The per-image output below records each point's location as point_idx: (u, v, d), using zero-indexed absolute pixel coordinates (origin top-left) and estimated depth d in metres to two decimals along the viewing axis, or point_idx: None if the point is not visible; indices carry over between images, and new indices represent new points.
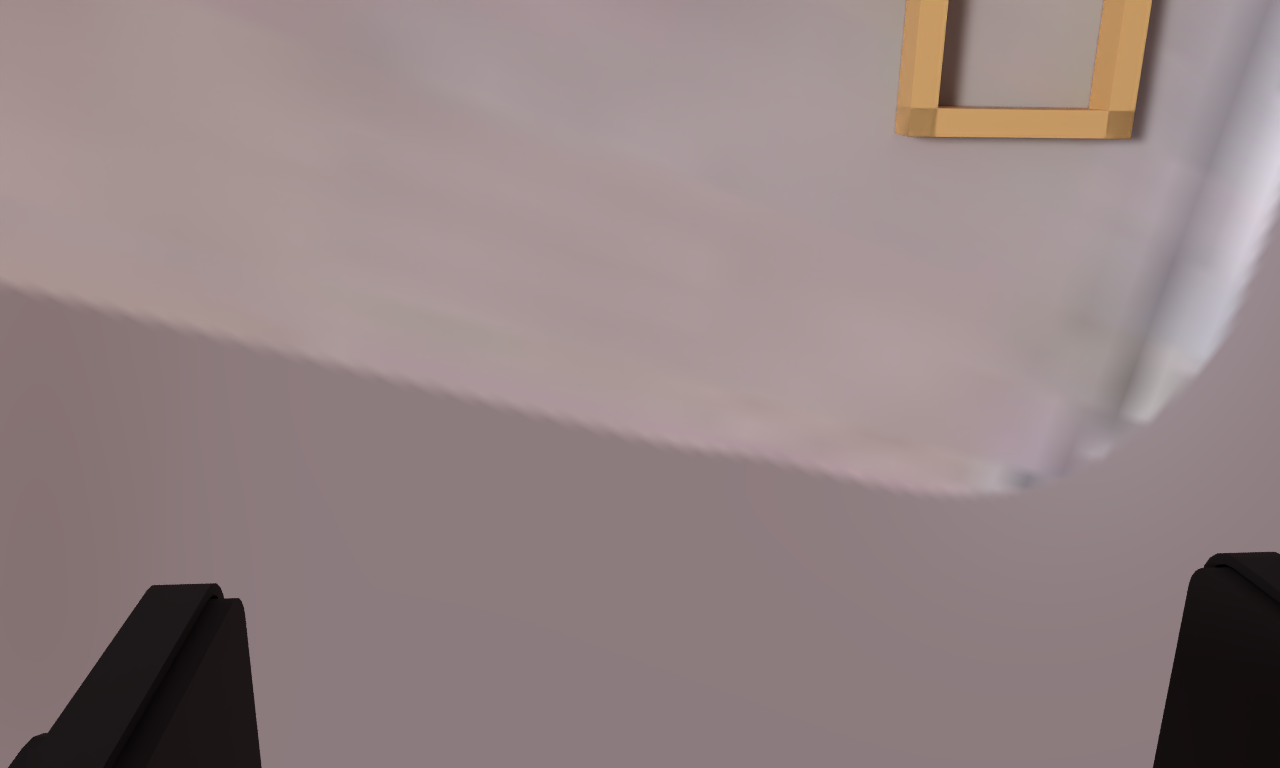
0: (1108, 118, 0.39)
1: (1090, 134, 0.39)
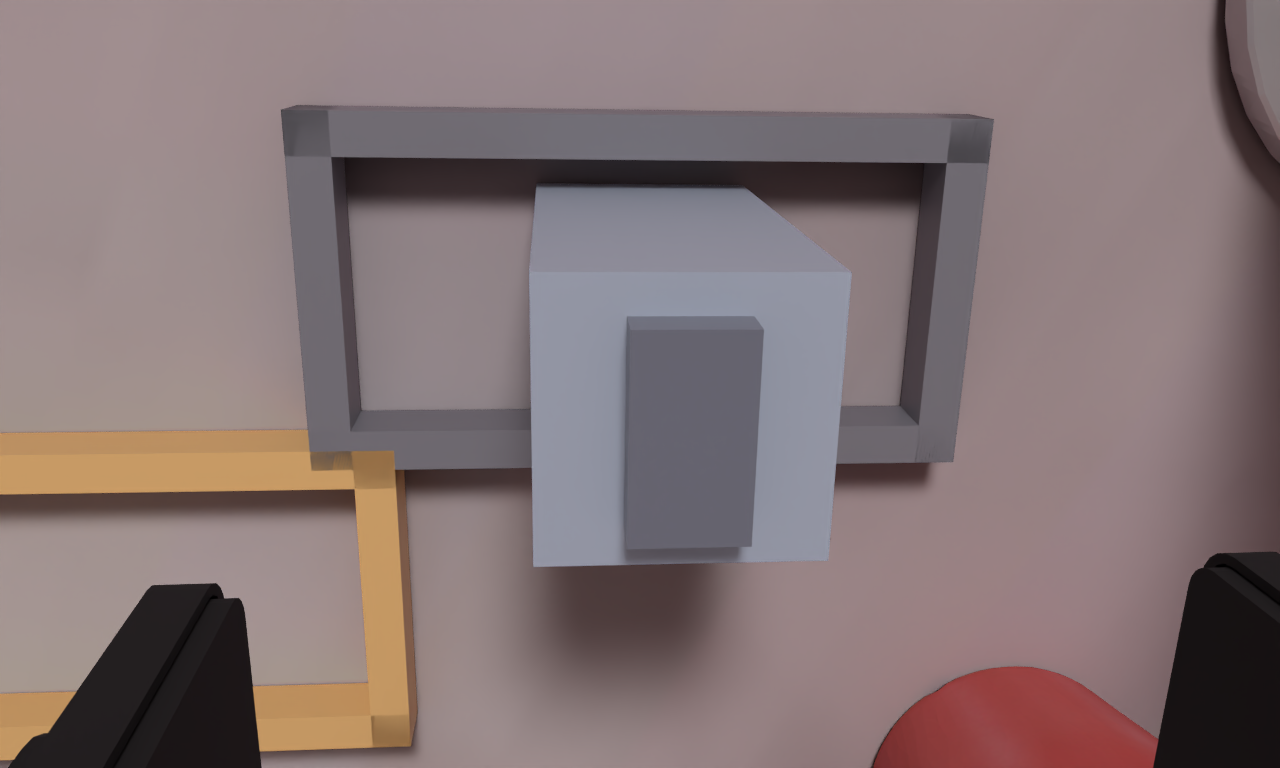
0: None
1: None
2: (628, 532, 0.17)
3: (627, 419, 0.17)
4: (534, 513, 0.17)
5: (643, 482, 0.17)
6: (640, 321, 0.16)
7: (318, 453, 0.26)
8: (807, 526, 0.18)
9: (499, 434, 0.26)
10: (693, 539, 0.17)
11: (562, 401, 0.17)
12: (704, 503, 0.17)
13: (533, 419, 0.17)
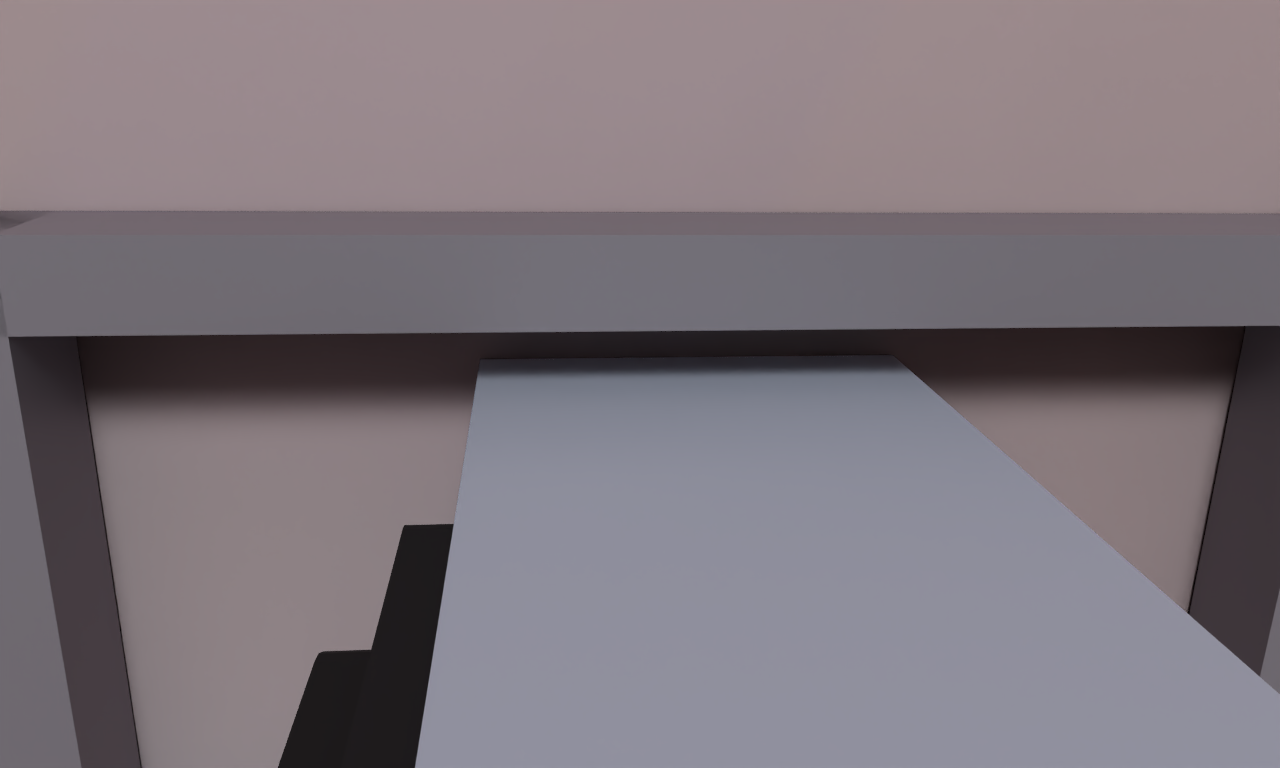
0: None
1: None
2: None
3: None
4: None
5: None
6: None
7: None
8: None
9: None
10: None
11: None
12: None
13: None
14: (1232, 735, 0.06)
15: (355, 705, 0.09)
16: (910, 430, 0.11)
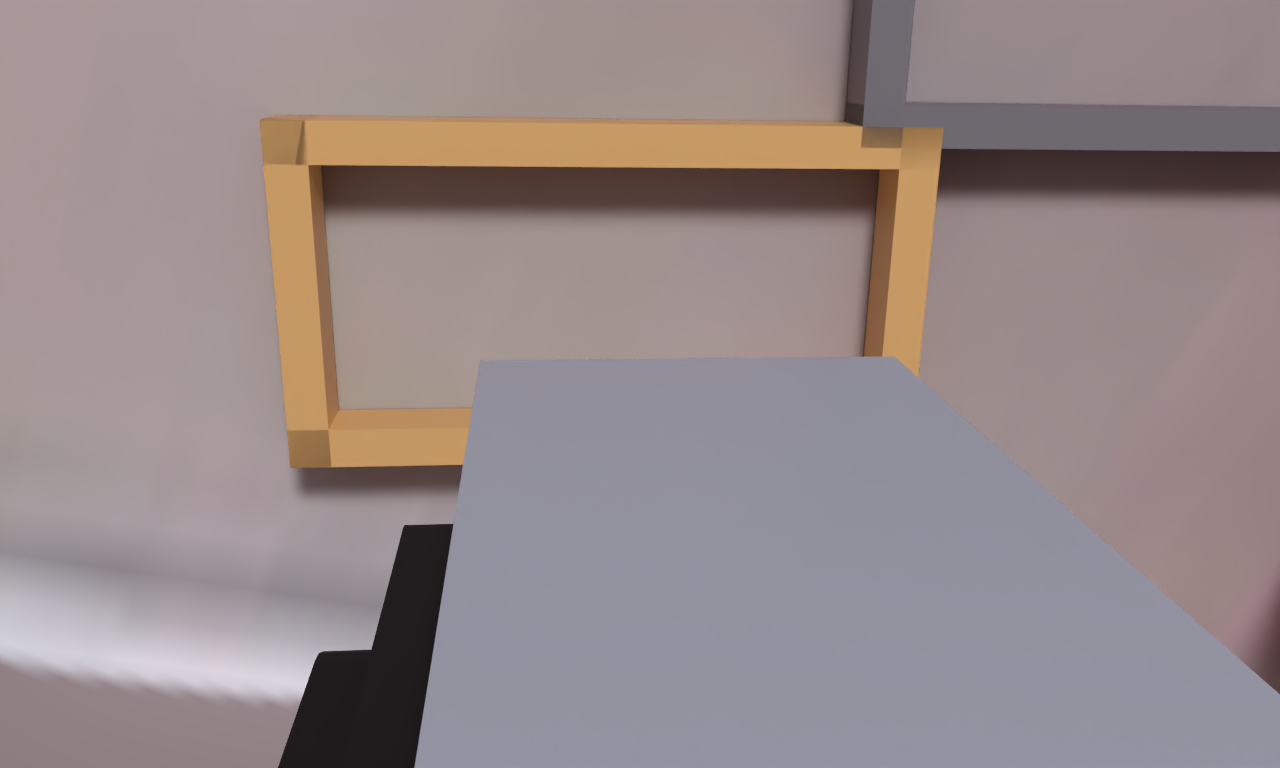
0: (316, 431, 0.27)
1: (290, 408, 0.26)
2: None
3: None
4: None
5: None
6: None
7: (870, 129, 0.26)
8: None
9: (1046, 112, 0.26)
10: None
11: None
12: None
13: None
14: (1239, 742, 0.06)
15: (355, 705, 0.09)
16: (912, 432, 0.10)
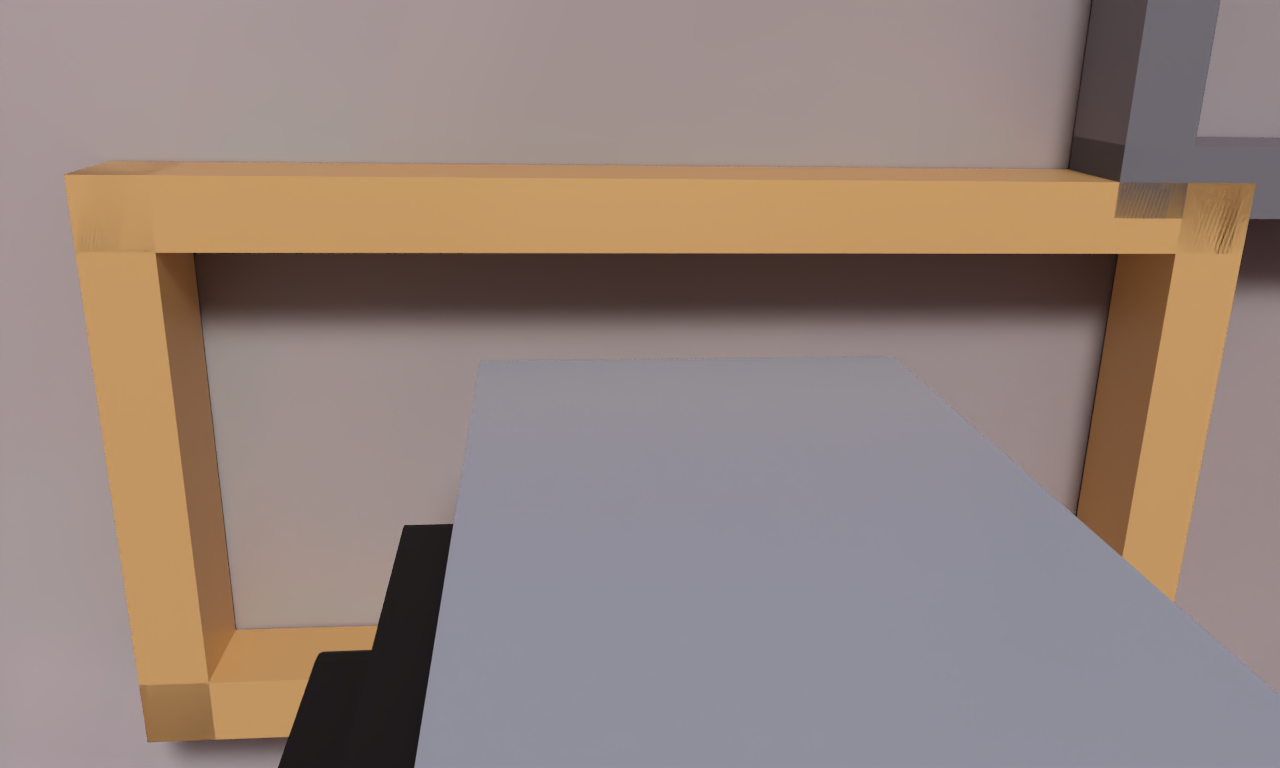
0: (189, 685, 0.16)
1: (143, 651, 0.16)
2: None
3: None
4: None
5: None
6: None
7: (1132, 186, 0.15)
8: None
9: None
10: None
11: None
12: None
13: None
14: (1239, 743, 0.06)
15: (355, 705, 0.09)
16: (912, 433, 0.10)
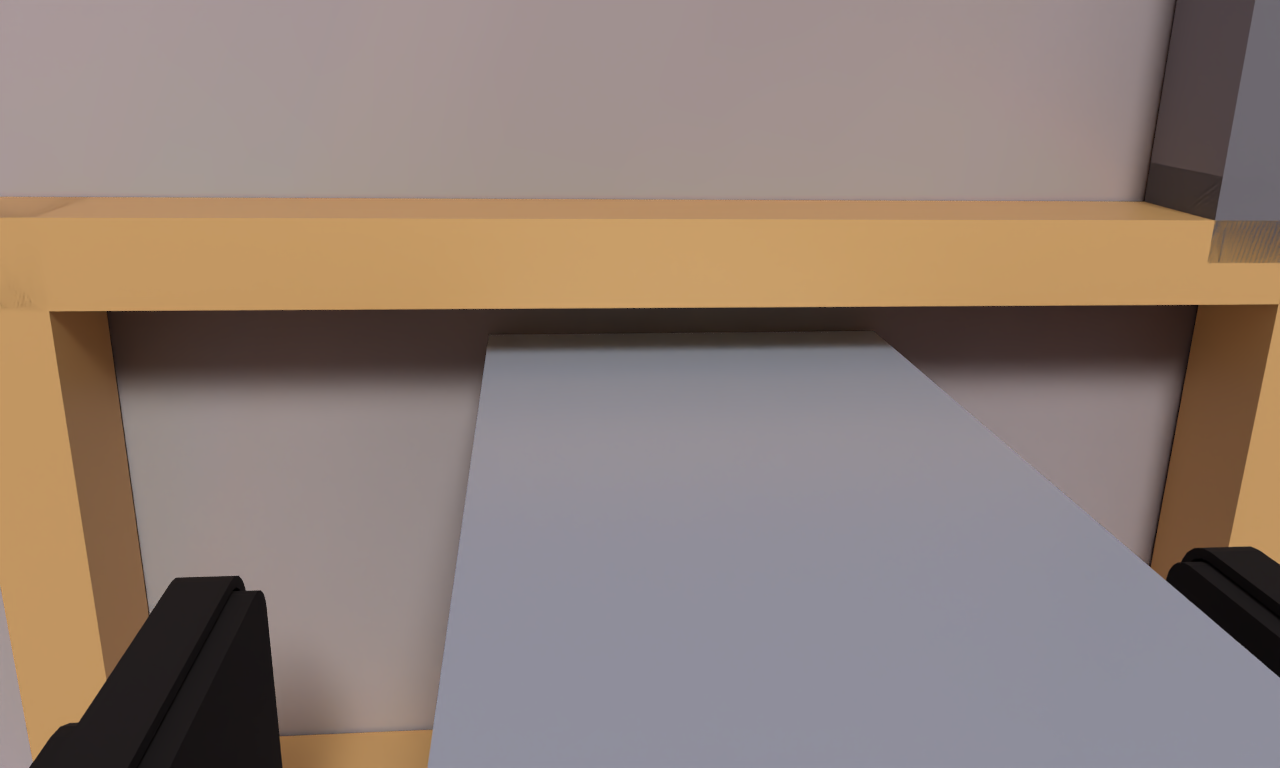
0: None
1: None
2: None
3: None
4: None
5: None
6: None
7: (1230, 225, 0.12)
8: None
9: None
10: None
11: None
12: None
13: None
14: (1147, 635, 0.07)
15: None
16: (885, 395, 0.11)
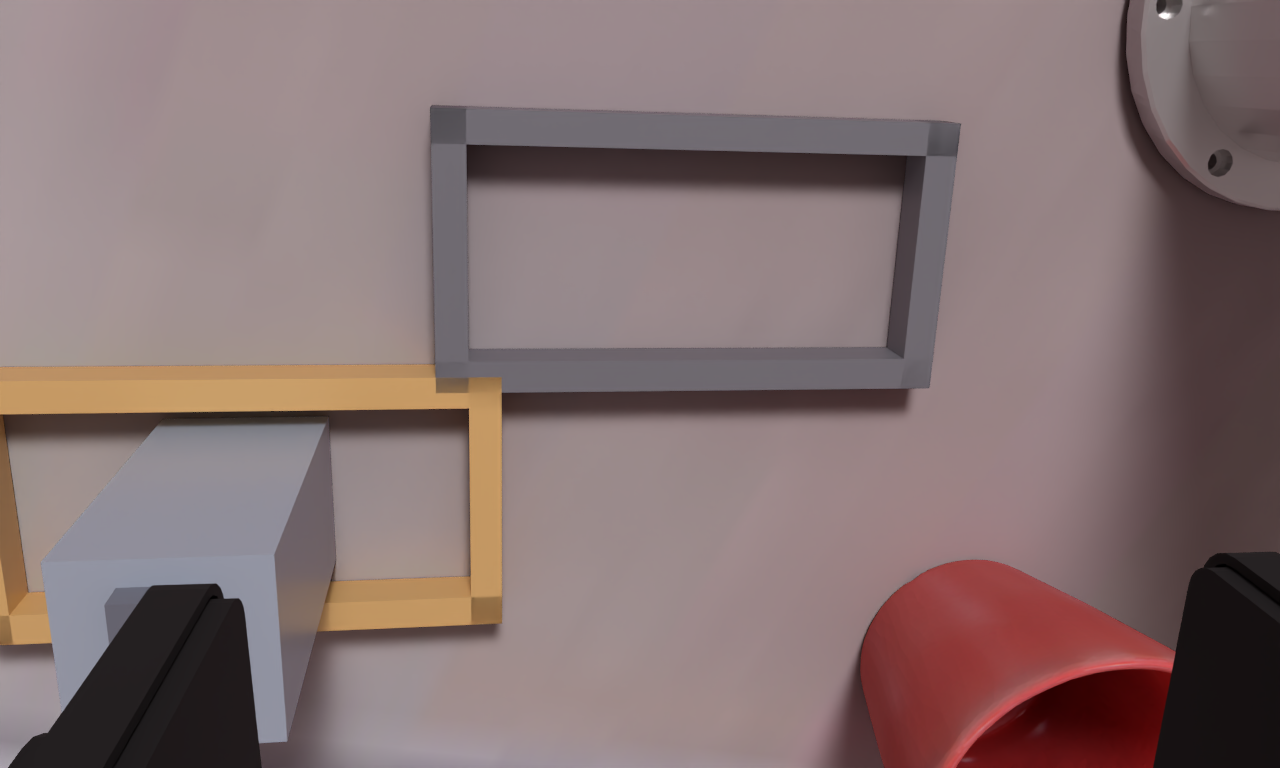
0: None
1: None
2: None
3: None
4: None
5: None
6: (120, 594, 0.24)
7: (442, 379, 0.33)
8: (268, 719, 0.26)
9: (583, 364, 0.33)
10: None
11: (75, 643, 0.24)
12: None
13: (56, 656, 0.25)
14: (269, 511, 0.27)
15: None
16: (293, 445, 0.31)
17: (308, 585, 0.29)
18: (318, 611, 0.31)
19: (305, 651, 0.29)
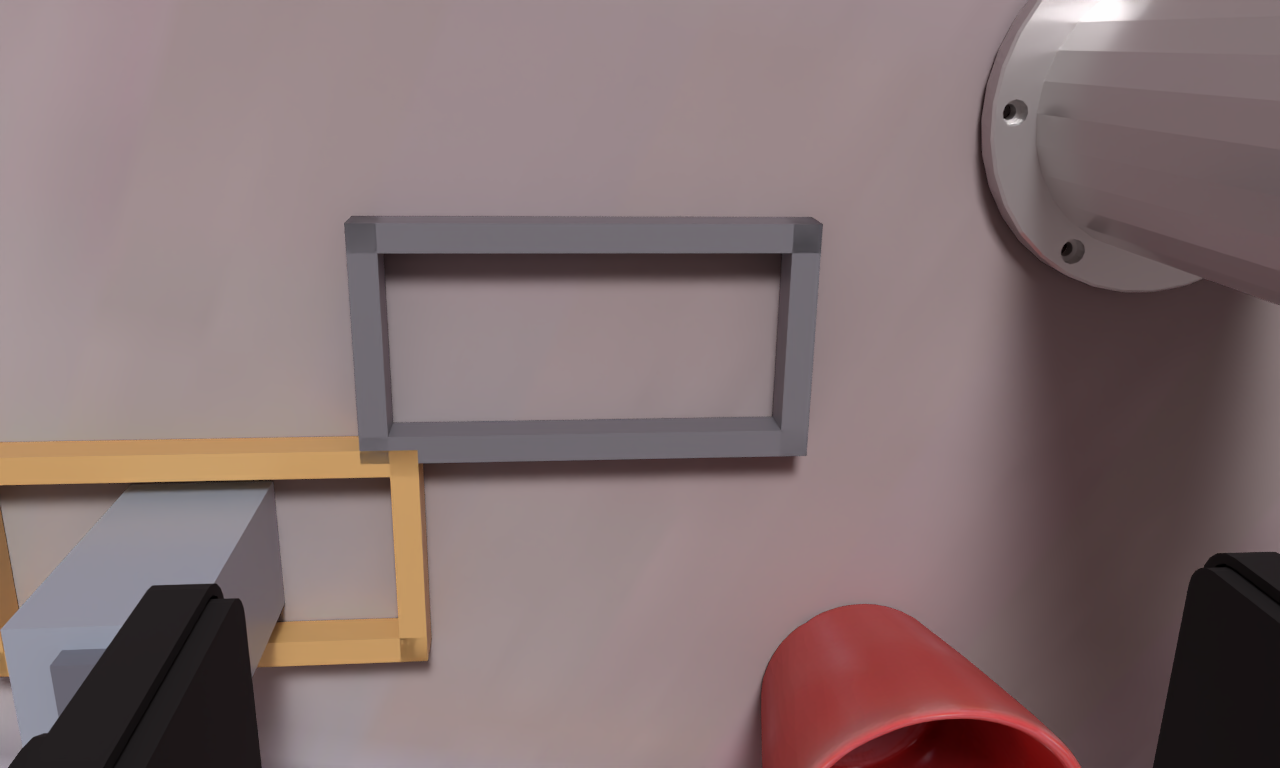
0: None
1: None
2: None
3: None
4: None
5: None
6: (64, 655, 0.29)
7: (365, 452, 0.37)
8: None
9: (490, 438, 0.38)
10: None
11: (31, 694, 0.30)
12: None
13: (16, 704, 0.30)
14: (197, 580, 0.32)
15: None
16: (235, 511, 0.36)
17: None
18: (257, 654, 0.36)
19: None
